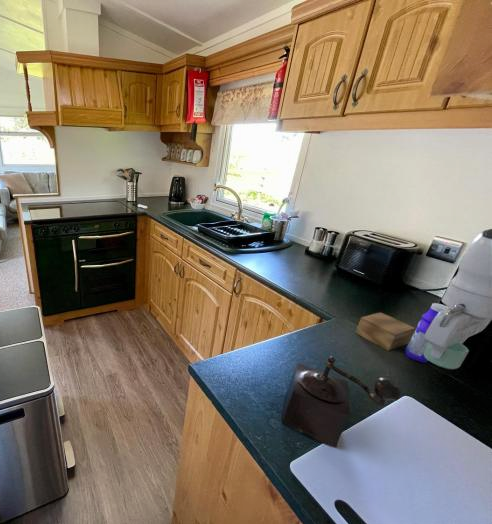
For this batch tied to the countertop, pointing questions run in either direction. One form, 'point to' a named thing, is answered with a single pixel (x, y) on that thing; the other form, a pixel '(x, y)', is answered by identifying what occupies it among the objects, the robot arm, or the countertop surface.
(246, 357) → the countertop surface
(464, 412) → the countertop surface
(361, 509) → the countertop surface
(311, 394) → the manual coffee grinder
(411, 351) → the bottle
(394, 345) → the block
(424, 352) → the bowl
